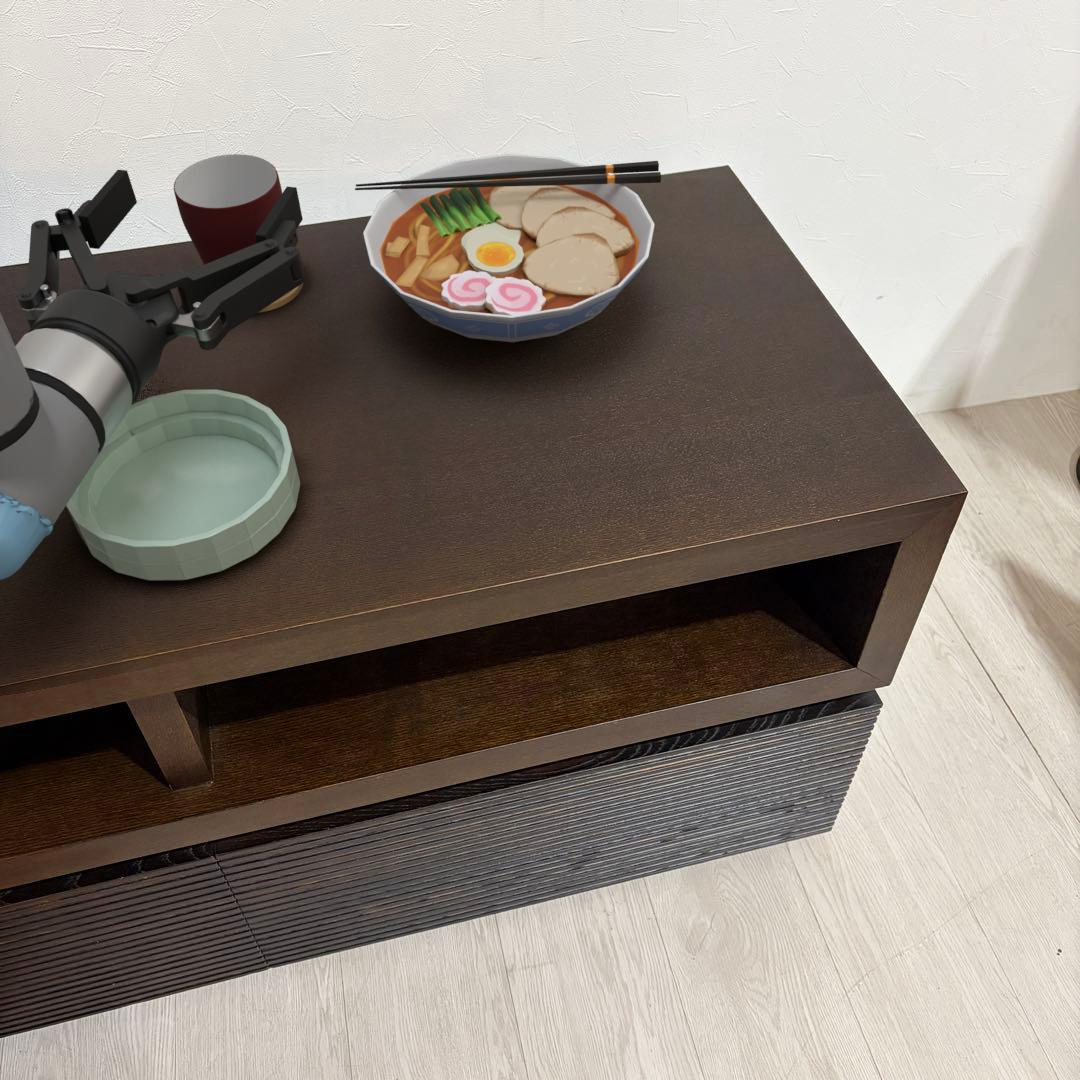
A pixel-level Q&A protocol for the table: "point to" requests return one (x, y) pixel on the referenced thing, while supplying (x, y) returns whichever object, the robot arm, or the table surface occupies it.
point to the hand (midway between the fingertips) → (210, 194)
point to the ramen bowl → (511, 242)
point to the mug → (226, 202)
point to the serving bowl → (187, 486)
